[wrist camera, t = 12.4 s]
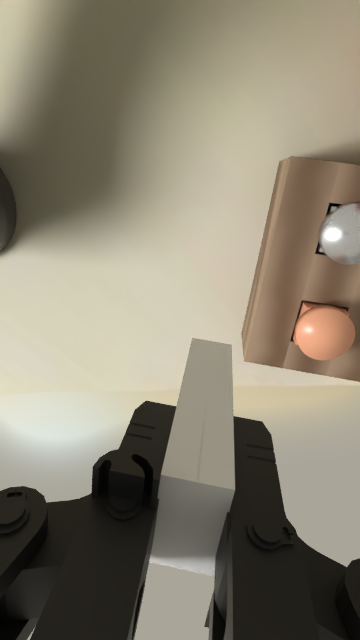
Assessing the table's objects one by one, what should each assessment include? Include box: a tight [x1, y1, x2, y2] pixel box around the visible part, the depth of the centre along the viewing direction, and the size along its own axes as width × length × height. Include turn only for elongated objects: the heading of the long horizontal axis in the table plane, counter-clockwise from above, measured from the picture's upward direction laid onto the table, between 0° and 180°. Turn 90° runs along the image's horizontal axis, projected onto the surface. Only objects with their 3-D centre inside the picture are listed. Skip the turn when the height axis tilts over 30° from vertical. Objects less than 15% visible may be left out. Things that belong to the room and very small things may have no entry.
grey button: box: [316, 203, 360, 265], centre depth 35 cm, size 6×6×8 cm
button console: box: [242, 156, 360, 382], centre depth 39 cm, size 14×22×8 cm, turn 173°
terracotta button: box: [292, 300, 355, 360], centre depth 38 cm, size 6×6×8 cm
